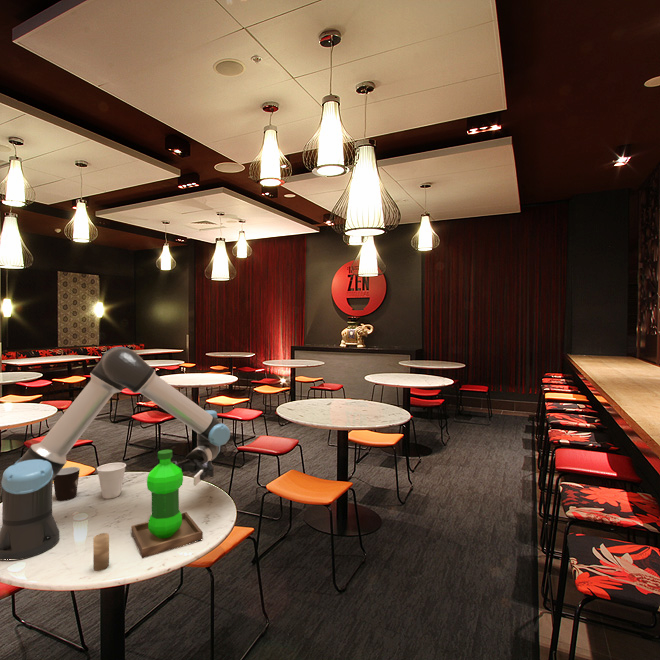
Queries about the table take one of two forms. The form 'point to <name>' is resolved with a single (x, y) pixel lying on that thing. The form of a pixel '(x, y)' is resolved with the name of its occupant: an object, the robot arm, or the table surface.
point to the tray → (155, 545)
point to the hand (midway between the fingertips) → (173, 481)
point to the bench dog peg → (101, 551)
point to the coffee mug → (66, 483)
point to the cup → (111, 479)
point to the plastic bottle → (165, 496)
